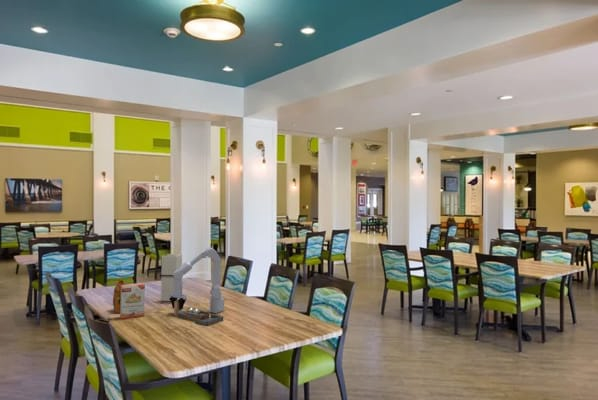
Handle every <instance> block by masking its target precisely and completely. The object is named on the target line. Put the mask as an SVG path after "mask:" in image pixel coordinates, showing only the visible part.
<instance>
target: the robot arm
mask: <svg viewBox="0 0 598 400" xmlns="http://www.w3.org/2000/svg"><path fill="white" fill-rule="evenodd" d="M207 257H208V258H209V259H211V260H212V261H213V266H212V284H211V289H210V291H209V293H210V295H211V296H210V298H209V300H210V301H209V302H210V303H209V310H207V311H209V313H211V314H212V313H213V314H217V313H221V312H224V311H226V309H225V299H224V298H223V297H222V292H221V261H222V260H221V259H222V258H221V256H220V255H219V253H218V252H217V250H215V249H214V248H212V247H211V246H207V247H206V248H205V249H203V250H202V251H200V252H199V253H198V254H197V255H196V256H194V257H193V258H192V259H191V260H190V261H186V262H182V266H181V267H180V268H178V270H176V271H174V273H173V276H174V282H173V294H172V293H171V294H169V297H171V298H169V299H170V301H171V303H172V304H171V306H172V309H174V301H177V298H180V299H178V302H179V309H180V310H182V311H183V309H184V305H185V302H186V301H187V296H186V295H184V294H183V278H184V276H185V275H186V274H188V272H190V271H191V270H192V269H193V267H194V265H196V264H197V263H198V262H200V261H201V260H202V259H206V258H207Z"/></svg>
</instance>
